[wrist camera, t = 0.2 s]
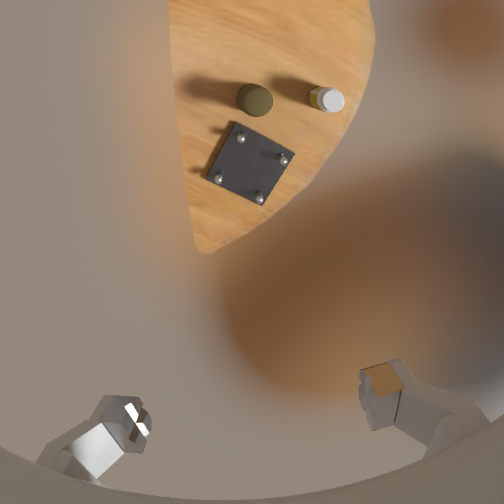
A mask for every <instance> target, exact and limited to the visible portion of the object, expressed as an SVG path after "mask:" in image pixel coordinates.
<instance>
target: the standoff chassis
mask: <svg viewBox="0 0 504 504" xmlns="http://www.w3.org/2000/svg"><path fill="white" fill-rule="evenodd" d="M294 155H295V153H294V152H292V151H290V150H289V149H287V148H285V147H283V146H282V145H280V144H278V143H276V142H274V141H273V140H271V139H269V138H267V137H265V136H263V135H262V134H260V133H258V132H256V131H254V130H252V129H250V128H248V127H246V126H244V125H242V124H240V123H238V122H236V123H235V125H234V127H233V129H232V130H231V132H230V134H229V136H228V137H227V139H226V141H225V143H224V145H223V147H222V148H221V150H220V152H219V154H218V156H217V158H216V160H215V161H214V163H213V165H212V167H211V169H210V171H209V173H208V175H207V177H206V180H209V181H211V182H213V183H215V184H217V185H219V186H221V187H224V188H226V189H228V190H230V191H232V192H234V193H236V194H238V195H240V196H242V197H245V198H247V199H249V200H251V201H253V202H255V203H257V204H259V205H261V206H262V205H263V204H264V202H265V201H266V199H267V197H268V196H269V194H270V193H271V191H272V189H273V188H274V186H275V185H276V183H277V181H278V180H279V178H280V177H281V175H282V174H283V172H284V170H285V169H286V167H287V166H288V164H289V163H290V161H291V159H292V158H293V156H294Z"/></svg>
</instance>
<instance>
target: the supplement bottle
mask: <svg viewBox="0 0 504 504" xmlns="http://www.w3.org/2000/svg"><path fill="white" fill-rule="evenodd" d="M309 102H310V104H311V105H312V106H313V107H314V108H316V109H318V110H321V111H324V112H328V113H331V112H337V111H339V110H341V109H342V108H343V106H344V103H345V100H344V97H343V95H342V94H341V93H340V92H339V91H337V90H336V89H334V88H330V87H316V88H314V89H312V90H311V92H310V93H309Z"/></svg>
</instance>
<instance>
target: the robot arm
mask: <svg viewBox="0 0 504 504" xmlns="http://www.w3.org/2000/svg"><path fill="white" fill-rule="evenodd" d="M359 378H360V380H361V382H362V383H361V384H360V386H359V399H360V403H361V406H362V409H363V410H364V411H366V412H367V421H368V423H369V426H370V428H371V430H372V431H375V430H378V429H382V428H385V427H388V426H392V425H394V426H395V427H397V428H398V429H400V430H402V431H403V432H405V433H406V434H408V435H409V436H411V437H413V438H414V439H416V440H417V441H419V442H421V443H422V444H424V445H426V446H427V447H428V448H427V450H426V453H425V455H424V457H423V459H422V460H420V461H417V462H415V463H412V464H410V465H407V466H405V467H402V468H400V469H397V470H394V471H391V472H388V473H385V474H382V475H380V476H376V477H373V478H370V479H366V480H363V481H359V482H356V483H352V484H348V485H344V486H340V487H336V488H331V489H327V490H322V491H316V492H311V493H305V494H299V495H291V496H284V497H275V498H264V499H251V500H250V499H249V500H195V499H180V498H170V497H161V496H153V495H146V494H140V493H134V492H129V491H124V490H119V489H114V488H110V487H106V486H104V485H102V483H101V482H99V481H98V480H97V478H98V477H99V476H100V475H101V474H102V473H103V472H104V471H106V470H107V469H108V468H109V467H110V466H111V465H112V464H113V463H114V462H115V461H116V460H117V459H118V458H120V457H121V456H122V455H123V454H124V452H130V453H141V454H142V453H143V451H144V448H145V445H146V442H147V441H146V439H145V437H146V436H147V435H148V434H149V433H150V431H151V418H150V415H149V414H148V412H147V411H146V410H145V409H143V408H142V405H143V403H142V401H141V400H140V398H139V397H133V396H113V395H105V396H103V397H102V399H101V400H100V402H99V404H98V406H97V407H96V409H95V411H94V412H93V414H92V416H91V417H90V419H89V421H87V420H85V421H84V422H82V423H81V424H79V425H77V426H76V427H74V428H73V429H71V430H69V431H68V432H66V433H64V434H63V435H61V436H60V437H58V438H56V439H54V440H53V441H51V442H49V443H48V444H46V446H45V448H44V449H43V451H42V453H41V454H40V456H39V458H38V459H37V461H36V463H34V462H31V461H29V460H27V459H25V458H23V457H20V456H18V455H16V454H14V453H12V452H10V451H8V450H6V449H4V448H2V447H0V504H504V414H503V415H502V416H500V417H499V418H497V419H496V420H494V421H493V422H492V423H490V421H489V420H488V419H487V417H486V416H485V415H484V413H483V412H482V411H481V409H480V408H479V407H478V405H477V404H476V403H475V402H474V401H472V400H469V399H466V398H463V397H460V396H457V395H454V394H452V393H449V392H446V391H443V390H441V389H438V388H435V387H433V386H430V385H427V384H425V383H421V384H419V383H418V382H417V380H416V379H415V377H414V376H413V375H412V373H411V372H410V370H409V369H408V368H407V366H406V365H405V363H404V362H403V361H402V359H401V358H396V359H393V360H390V361H387V362H384V363H381V364H377V365H374V366H371V367H367V368H364V369H360V373H359Z"/></svg>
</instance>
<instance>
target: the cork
mask: <svg viewBox="0 0 504 504" xmlns="http://www.w3.org/2000/svg"><path fill="white" fill-rule="evenodd" d="M237 103H238V106H239V107H240V108H241V109H242V110H243V111H244V112H245V113H246V114H248V115H250V116H253V117H260V116H264V115H265V114H267V113H268V112H269V111H270V110H271V108H272V105H273V98H272V95H271V93H270V92H269V91H268V90H267V89H265V88H263V87H262V86H260V85H257V84H249V85H246V86H244V87H242V88H241V89H240V91H239V92H238V95H237Z"/></svg>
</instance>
